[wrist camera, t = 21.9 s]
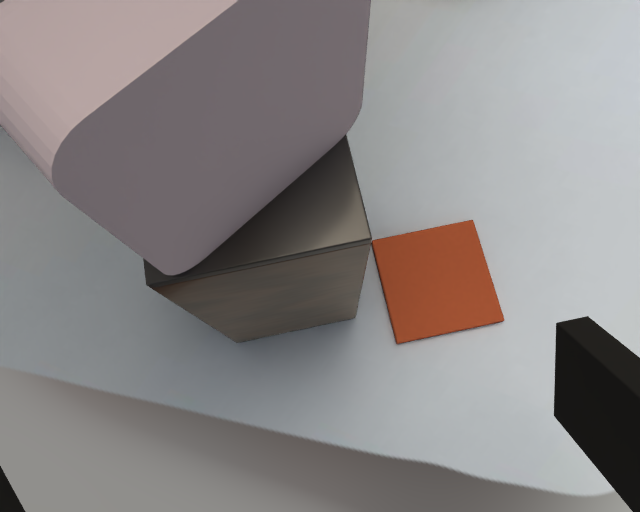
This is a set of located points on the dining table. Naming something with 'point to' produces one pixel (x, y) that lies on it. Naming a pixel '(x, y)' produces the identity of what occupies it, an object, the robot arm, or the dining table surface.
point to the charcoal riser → (284, 259)
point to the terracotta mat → (436, 282)
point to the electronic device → (179, 107)
